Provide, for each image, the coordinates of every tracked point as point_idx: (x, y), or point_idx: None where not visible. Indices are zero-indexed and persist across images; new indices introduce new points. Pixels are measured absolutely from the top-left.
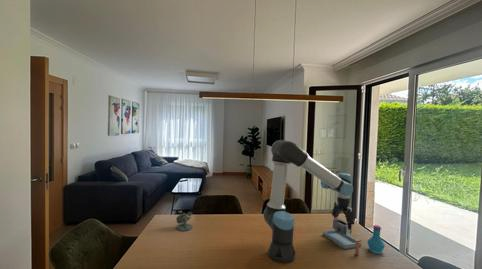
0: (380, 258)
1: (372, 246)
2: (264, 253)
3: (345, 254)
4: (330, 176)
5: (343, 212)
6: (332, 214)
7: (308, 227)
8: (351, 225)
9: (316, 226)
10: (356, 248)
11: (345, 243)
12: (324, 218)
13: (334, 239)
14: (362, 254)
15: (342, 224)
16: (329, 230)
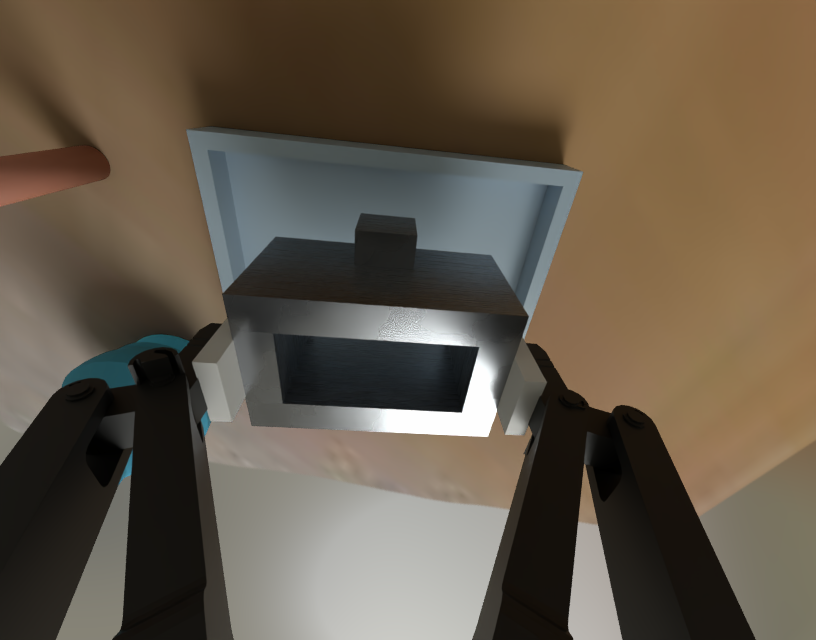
0: (45, 307)
1: (104, 354)
2: None
3: (80, 14)
4: None
5: (198, 632)
6: (630, 419)
7: (792, 142)
8: (252, 418)
9: (719, 257)
10: (14, 155)
11: (303, 231)
12: (727, 427)
13: (371, 148)
14: (101, 222)
15: (302, 323)
16: (547, 265)
